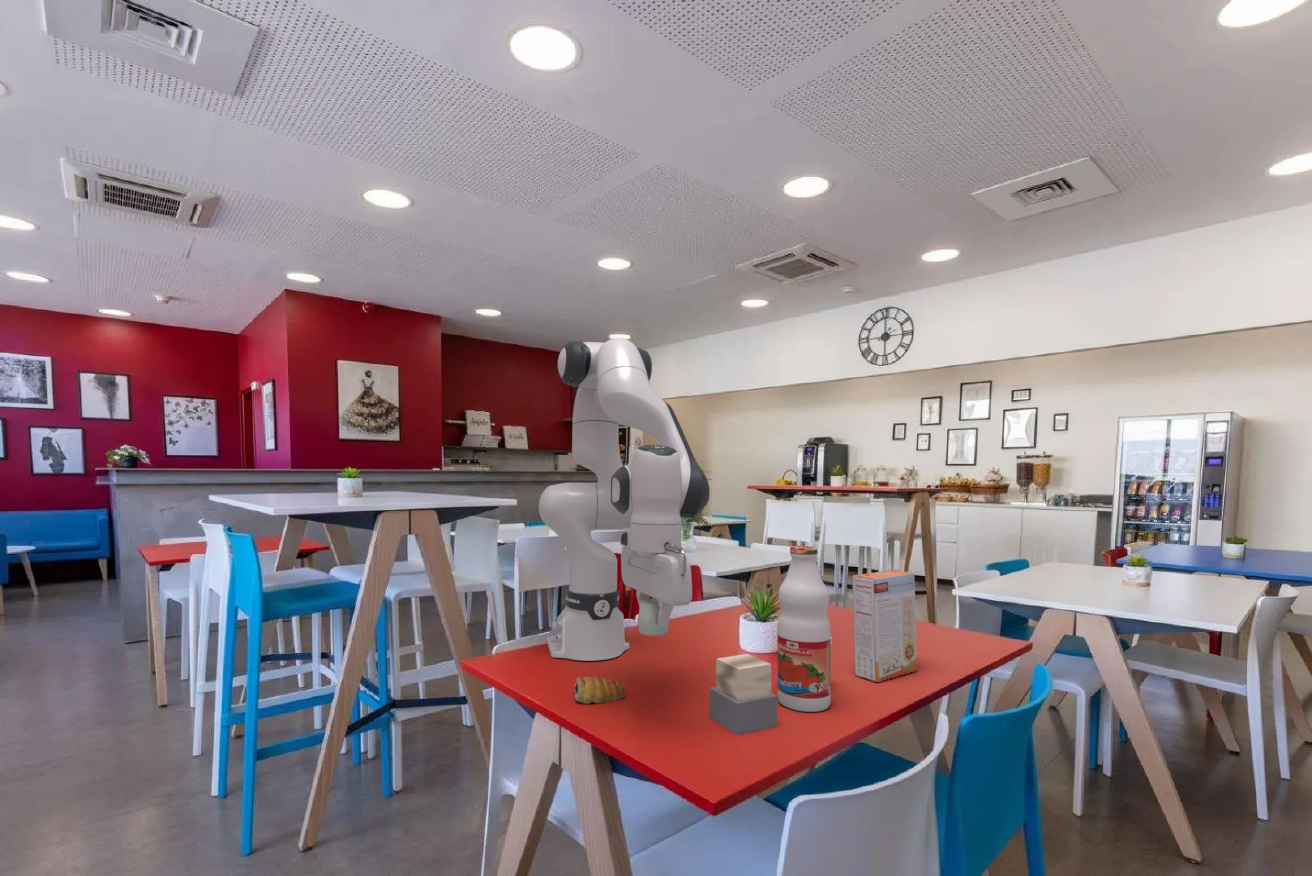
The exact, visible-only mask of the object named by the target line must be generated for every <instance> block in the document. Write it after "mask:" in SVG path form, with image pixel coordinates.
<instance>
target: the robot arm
mask: <svg viewBox="0 0 1312 876" xmlns="http://www.w3.org/2000/svg"><path fill="white" fill-rule="evenodd" d="M652 361H653V360H652V358H651V355H650V354H649V352H648V351H647V350H645V349H643V348H640V347H638V346H636V345H635V344H634V342H632V341H631V340H629V339H626V338H621V337H620V338H611V339H609V340H607V341H605V342H601V341H600V342H597V341H582V340H574V341H573V340H572V341H567V343H565V344H564V345H563V346H562V348H561V350H560V353H559V354H558V359H557V370H558V374H559V375H558V376H559V378H560V379H561V381H562V382H563V384H565V385H567V386H570V387H573V388H577V390H576V395H575V398H574V405H573V410H572V411H573V412H572V432H571V433H572V435H571V437H572V440H571V441H572V442H571V445H572V446H571V454H572V456H573V459H574V460H575V462H576V463H578V464H579V465H580V466H582V467H584V469H585V468H586V469H588V470H590V471H591V472H593V473H594V474H595V475H596V477H597V482H562V483H557V484H551V485H548V486H547V487H546V488H545V489H544V490H543V492H542V493H541V495H540V497H539V501H538V513H539V516H540V518H541V520H542V522H543V523H544V524H545V525H546V526H547V527H548V528H549V529H551V530H552V531H553V532H554V534H556V535H557V536H558V538H559V539H560V541H561V543H562V544H563V545H564V548H565V551H566V555H567V561H568V579H569V581H568V583H569V584H568V590H567V592H566V595H565V608H564V609H563V610H561V613H560V614H559V615H558V616H557V617H556V621H551V626H550V629H551V632H552V633H555V634H552V635H549V636H546V644H547V647H548V650H549V654H550V656H551V657H552V658H555V659H556V658H557V659H558V658H559V659H569V660H574V661H586V662H587V661H589V662H590V661H591V662H592V661H593V662H594V661H595V662H596V661H603V660H609V659H614V658H616V657H619V656H621V655H622V654H623V653H624V651H627V650H629V649H630V648H631V647H630V643H629V642H627V641H626V640H625V622H624V620H625V619H624V613H623V612H622V611H621V610H620V609H619V608H618V606H619V600H620V595H619V590H618V558H617V556H616V554H615V553H614V552H613V551H612V550H611V549H610V548H609V547H607V546H605V545H603V544H601V543H599V542H597V541H595V540H594V539H593V537H592V532H593V531H596V530H597V531H598V530H600V531H603V530H604V531H608V530H609V531H610V530H613V531H615V530H617V531H622V530H624V531H623V532H621V533H619V544H620V545H621V546H622V548H621V550H620V551H621V552H620V554H621V555H620V562H621V563H620V565H621V566H620V569H621V578H622V582H623V584H624V585H625V586H627V587H629V588H631V589H634V590H635V591H636V593H635V594H636V599H637V603H638V604H639V603H640V600H643V599H650V597H651V598H655V599H658V600H659V602H658V605H659V606H660V609H659V614H658V615H656V625H658V626H660V627H668V628H669V625H670V616H671V613H672V611H673V609H674V607H679V606H680V607H681V606H688V605H689V604H690V603H691V601H692V599H693V583H692V582H693V581H692V580H693V579H692V570H691V569H692V568H691V563H690V560H689V558H687V554H686V553H685V552H684V548H683V547H682V518H684V519H693V518H695V517H696V516H697V515H698V514H700V512H702V511H703V510H704V509H705V507H706V506H707V504H708V502H709V500H710V485H709V481H708V477H707V476H706V474H705V472H704V471H703V469H702V468H701V467H700V465H699V463H698V462H697V460H696V458H695V456H694V454H693V451H692V449H691V446H690V444H689V443H688V440H687V438H686V436H685V434H684V431H683V429H682V426H681V424H680V421H679V420H678V418H677V416H676V415H677V414H676V413H675V411H674V410H673V408H672V406H671V405H670V404H669V403H668V402H666V401H665V400H663V398H661V396H659V394H658V393H657V392H656V391H655V390H654V388H653V387H652V385H651V383H650V380H651V377H652V371H653V362H652ZM619 425H622V426H625V427H629V428H632V429H635V430H638V431H641V432H644V433H645V434H647V435H650V436H651V437H653V438H654V439H656V440H657V442H658V443H659V444H646V445H645V444H644V445H640V446H638V447H636V448H635V450H634V452H633V459H632V461H631V462H629V463H628V464H626V465H624V464H623V461H622V458H621V451H620V444H619V443H620V442H619V440H620V439H619Z"/></svg>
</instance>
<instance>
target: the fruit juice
mask: <svg viewBox="0 0 1312 876" xmlns="http://www.w3.org/2000/svg"><path fill="white" fill-rule="evenodd" d="M789 553H790V554H789V555H790V557H791V561H790V564H789V567H788V570H787V573H786V575H785V578H784V579H783V581H782V583H781V585H780V587H779V589H778V598H777V599H778V602H779V606H780V614H779V616H778V620H777V629H776V630H777V633H776V634H777V688H776V689H777V701H778V703H779V704H780V705H782V706H783V707H784V708H788V709H789V710H793V711H798V712H802V713H803V712H806V713H816V712H822V711H826V710H828V708H829V707H830V705H831V702H832V701H831V700H832V691H831V689H832V685H831V684H832V677H831V676H832V673H831V669H832V668H831V667H832V666H831V656H832V655H831V649H832V648H831V646H832V644H831V642H830V641H831V637H832V636H831V635H832V634H831V623H830V619H829V617H828V610H829V609H828V608H829V606H830V601H831V600H830V593H829V592H830V591H829V590H828V588H827V586H826V585H825V583H824V581H823V579H822V576H821V573H820V570H819V567H818V564H817V557H818V548H817V547H815V546H810V545H809V546H808V545H792V546H790V547H789Z"/></svg>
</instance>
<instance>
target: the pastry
mask: <svg viewBox="0 0 1312 876" xmlns="http://www.w3.org/2000/svg"><path fill="white" fill-rule="evenodd" d="M574 692H575V694H574V697H575V700H576V701H577V702H578V703H581V704H583V705H589V704H591V703H594V704H603V703H609V702H610V701H611V702H615V701H618V700H620V699H623V698H625V696H626V687H625V684H624V683H622V682H620V681H618V680H612V679H610V678H607V677H599V676H598V675H596V676H593V677H591V676H585V677H577V678H576V682H575V684H574Z"/></svg>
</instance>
